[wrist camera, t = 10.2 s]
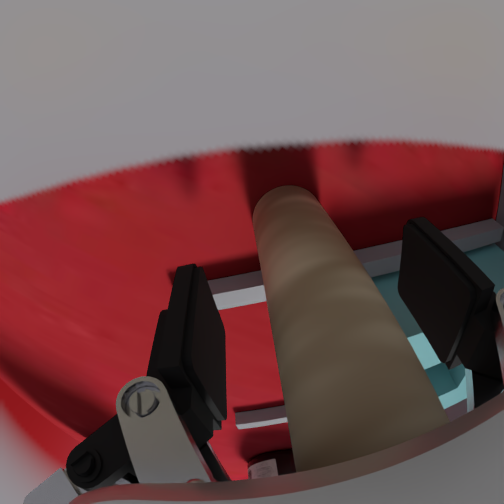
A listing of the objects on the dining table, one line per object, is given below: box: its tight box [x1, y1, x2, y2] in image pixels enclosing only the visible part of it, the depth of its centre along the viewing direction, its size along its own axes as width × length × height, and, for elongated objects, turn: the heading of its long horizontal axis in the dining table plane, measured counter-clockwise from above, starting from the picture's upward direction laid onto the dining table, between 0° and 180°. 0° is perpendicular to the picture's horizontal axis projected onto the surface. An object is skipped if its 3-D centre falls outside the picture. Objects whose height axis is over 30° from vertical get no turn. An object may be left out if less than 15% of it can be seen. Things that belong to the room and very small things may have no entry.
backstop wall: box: [208, 167, 504, 429], centre depth 14 cm, size 22×28×10 cm
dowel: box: [253, 185, 450, 473], centre depth 8 cm, size 3×3×12 cm
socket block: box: [371, 243, 504, 409], centre depth 16 cm, size 12×12×5 cm
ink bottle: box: [248, 450, 296, 479], centre depth 25 cm, size 10×9×12 cm
